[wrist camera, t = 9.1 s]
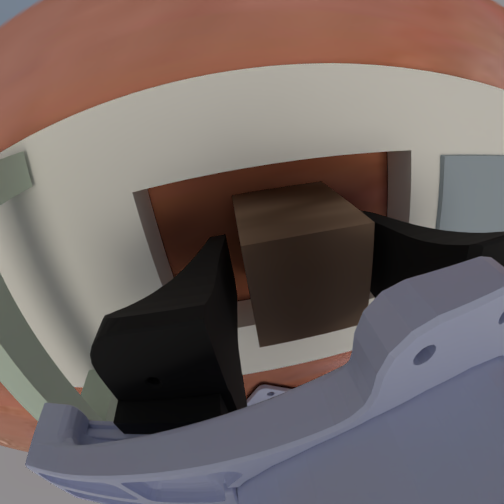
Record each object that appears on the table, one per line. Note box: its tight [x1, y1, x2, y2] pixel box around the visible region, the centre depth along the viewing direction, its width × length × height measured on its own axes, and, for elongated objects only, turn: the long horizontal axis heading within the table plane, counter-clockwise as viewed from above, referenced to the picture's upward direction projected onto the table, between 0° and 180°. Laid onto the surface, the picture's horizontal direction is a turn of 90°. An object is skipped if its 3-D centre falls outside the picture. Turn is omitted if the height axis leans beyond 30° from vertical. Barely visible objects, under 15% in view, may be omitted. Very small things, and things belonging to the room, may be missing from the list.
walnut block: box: [232, 181, 375, 347], centre depth 11 cm, size 4×4×5 cm
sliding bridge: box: [0, 151, 118, 421], centre depth 9 cm, size 2×13×5 cm, turn 9°
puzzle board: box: [0, 63, 504, 387], centre depth 12 cm, size 30×14×2 cm, turn 99°
